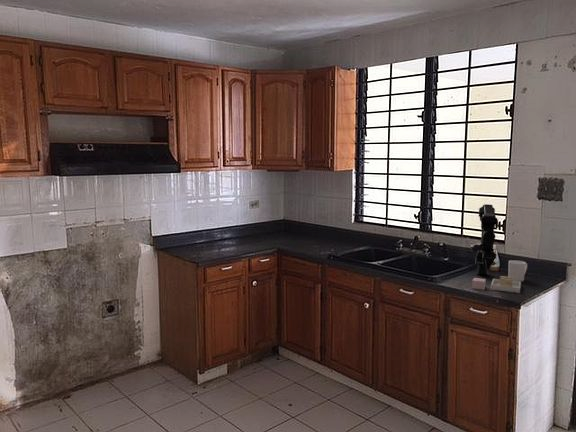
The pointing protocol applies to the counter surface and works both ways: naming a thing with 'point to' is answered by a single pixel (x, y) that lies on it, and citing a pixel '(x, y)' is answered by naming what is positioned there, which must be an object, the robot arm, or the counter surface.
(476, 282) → the rose box
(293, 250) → the counter surface
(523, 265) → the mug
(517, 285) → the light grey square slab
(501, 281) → the oak block
